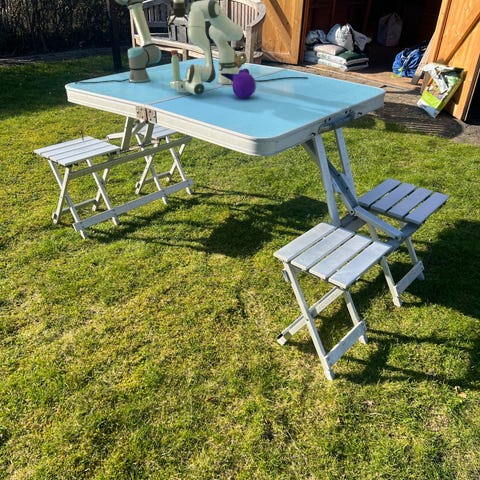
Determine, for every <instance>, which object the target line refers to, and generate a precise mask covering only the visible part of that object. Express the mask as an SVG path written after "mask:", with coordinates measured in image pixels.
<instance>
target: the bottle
mask: <svg viewBox="0 0 480 480" xmlns="http://www.w3.org/2000/svg"><path fill="white" fill-rule="evenodd" d="M171 55H172V54H171ZM171 68H172V70H171V71H172V82H173V81H180V80H182V78H181V69H180V59H179V56H178V54H177V55H172V56H171Z"/></svg>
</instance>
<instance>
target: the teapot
mask: <svg viewBox="0 0 480 480" xmlns="http://www.w3.org/2000/svg"><path fill="white" fill-rule="evenodd" d="M241 58H242V59H241ZM234 61H235V62H239V65H236V66H237V67H238V68H239V69H241V68H242V67H243V65H245V64H246V63H247V55H246V52H241V53H239V54H238V53H237V52H236V50H234Z"/></svg>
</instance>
